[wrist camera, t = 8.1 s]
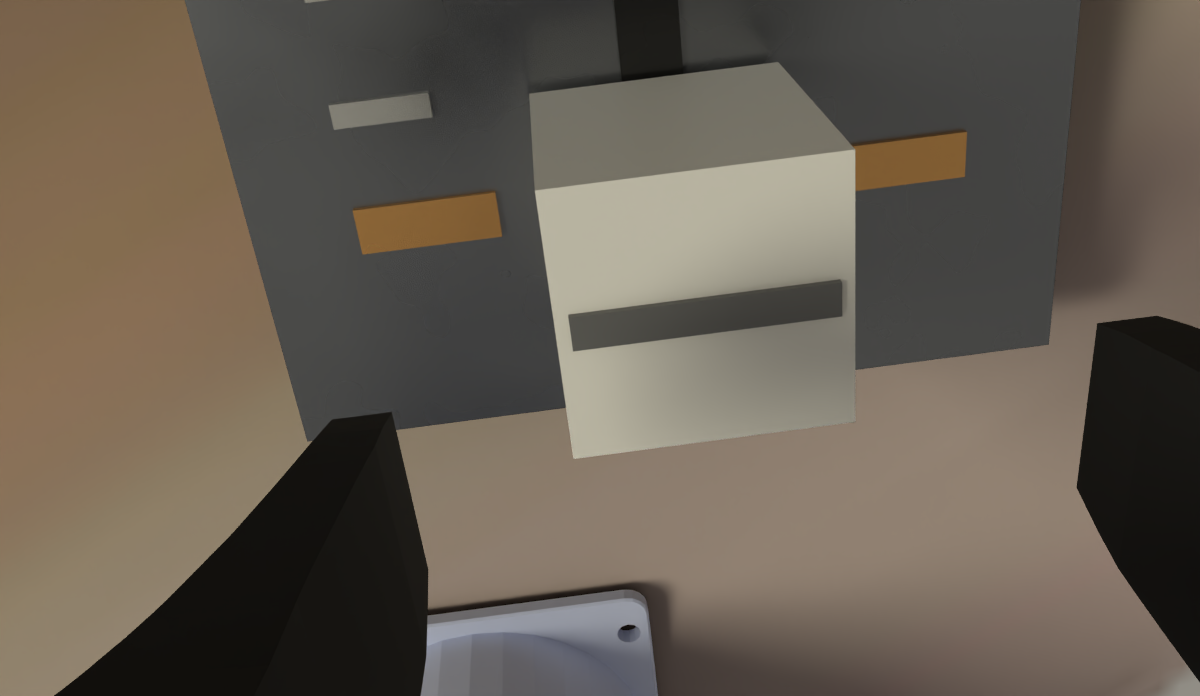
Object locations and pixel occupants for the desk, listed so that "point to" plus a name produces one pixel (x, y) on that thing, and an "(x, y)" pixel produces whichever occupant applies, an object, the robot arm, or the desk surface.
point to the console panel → (506, 176)
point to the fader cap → (696, 257)
